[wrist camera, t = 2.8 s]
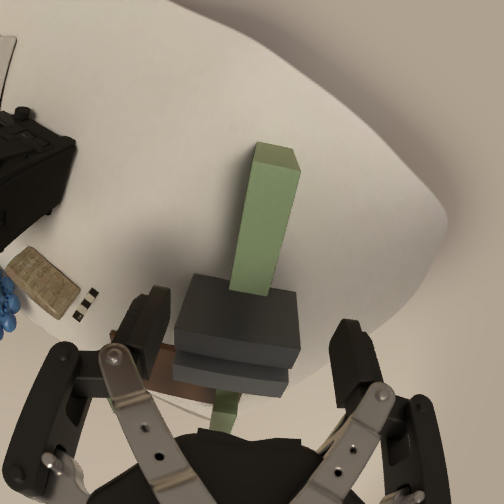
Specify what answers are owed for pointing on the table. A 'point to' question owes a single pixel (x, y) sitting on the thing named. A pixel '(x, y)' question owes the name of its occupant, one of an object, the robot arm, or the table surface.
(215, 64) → the table surface
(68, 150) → the camera
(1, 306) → the grapes
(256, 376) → the grey grooved block
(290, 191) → the green book
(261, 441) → the robot arm
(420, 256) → the table surface
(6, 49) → the grey rectangular panel
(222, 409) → the book rack
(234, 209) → the table surface
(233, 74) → the table surface
